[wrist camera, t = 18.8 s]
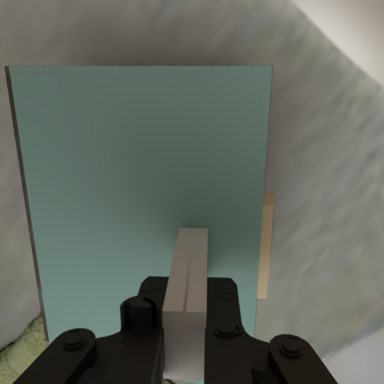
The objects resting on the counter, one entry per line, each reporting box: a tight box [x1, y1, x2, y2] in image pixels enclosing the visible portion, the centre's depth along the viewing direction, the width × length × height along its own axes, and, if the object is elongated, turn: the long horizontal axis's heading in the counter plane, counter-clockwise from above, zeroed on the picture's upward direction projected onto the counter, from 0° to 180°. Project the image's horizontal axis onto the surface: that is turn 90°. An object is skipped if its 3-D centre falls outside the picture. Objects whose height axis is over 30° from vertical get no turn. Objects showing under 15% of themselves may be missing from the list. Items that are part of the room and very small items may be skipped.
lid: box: [9, 66, 275, 384], centre depth 20 cm, size 17×13×2 cm
